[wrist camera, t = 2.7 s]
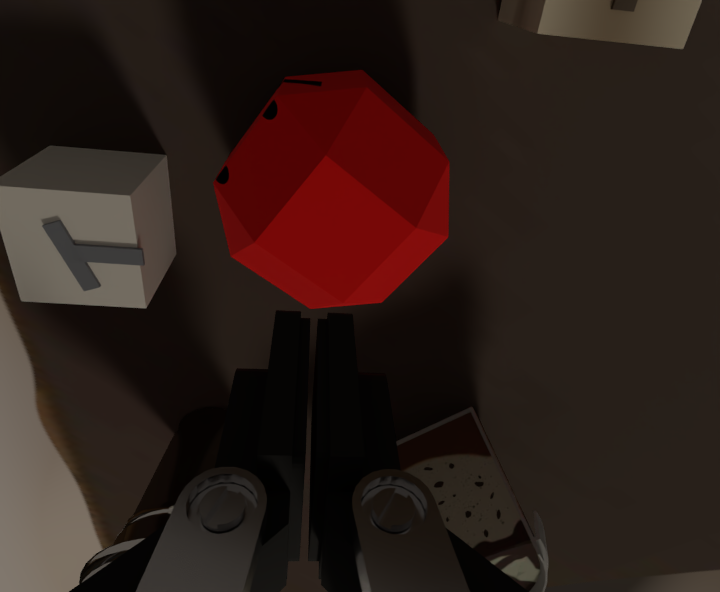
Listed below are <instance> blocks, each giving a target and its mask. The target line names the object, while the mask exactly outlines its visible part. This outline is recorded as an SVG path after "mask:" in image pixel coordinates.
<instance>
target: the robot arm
mask: <svg viewBox="0 0 720 592" xmlns="http://www.w3.org/2000/svg"><path fill="white" fill-rule="evenodd" d="M309 340H310V318H301V311H279V310H276V315H275V322H274V330H273V337H272V345H271V352H270V359H269V367H268V369H238V368H237V370H236V372H235V376H234V380H233V385H232V390H231V394H230V399H229V404H228V408H227V413H226V418H225V422H224V427H223V432H222V436H221V441H220V446H219V451H218V455H217V460H216V465H215V469H210V470H207V471H205V472H203V473H202V474H200V475H198V476H196V477H195V478H194V479H192V480H191V481H190V482H189V483H188V484H187V485H186V486H185V487H184V489H183V490H182V492H181V493H180V495H179V497H178V499H177V501H176V503H175V506H174V508H173V510H172V512H171V514H170V517H169V519H168V521H167V523H166V524H165V525H164V526H162V527H161V528H159V529H158V530H157V531H155V532H154V533H152V534H151V535H149V536H148V537H147V538H145V539H144V540H142V541H141V542H139V543H138V544H136V545H135V546H134V547H132V548H131V549H129V550H128V551H126V552H125V553H124V554H122V555H121V556H119V557H118V558H116V559H115V560H114V561H112V562H111V563H109V564H108V565H106V566H105V567H104V568H102V569H101V570H99V571H98V572H96V573H95V574H94V575H92V576H91V577H89V578H88V579H86V580H85V581H84V582H82V583H81V584H79V585H78V586H77V587H75V588H74V589H72V590H71V591H69V592H279V591H281V590H282V589H283V588H284V587H285V586H286V579H287V569H288V561H299V556H300V540H301V523H302V506H303V490H304V473H305V454H306V428H307V399H308V369H309ZM308 561H319V579H321V585H322V586H323V587H324V588H325V589H326V590H327V591H328V592H528V591H527V590H526V589H525V588H523V587H522V586H521V585H519V584H518V583H517V582H516V581H514V580H513V579H512V578H510V577H509V576H508V575H507V574H505V573H504V572H503V571H501V570H500V569H499V568H498V567H496V566H495V565H494V564H492V563H491V562H490V561H488V560H487V559H486V558H485V557H483V556H482V555H481V554H479V553H478V552H477V551H476V550H474V549H473V548H472V547H470V546H469V545H468V544H467V543H465V542H464V541H463V540H461V539H460V538H459V537H458V536H456V535H455V534H454V533H452V532H451V531H450V530H449V529H447V528H446V527H445V525H444V522H443V519H442V517H441V514H440V511H439V509H438V506H437V504H436V501H435V498H434V497H433V495H432V493H431V491H430V490H429V488H428V487H427V486H426V485H425V484H424V483H423V482H422V481H421V480H420V479H418V478H417V477H415V476H413V475H411V474H410V473H407V472H404V471H401V469H400V462H399V456H398V449H397V443H396V436H395V430H394V423H393V417H392V410H391V404H390V397H389V391H388V385H387V379H386V375H385V374H384V373H358V371H357V360H356V348H355V337H354V325H353V315H352V314H344V313H328V316H327V319H318V326H317V341H316V356H315V372H314V387H313V402H312V423H311V464H310V506H309V548H308Z"/></svg>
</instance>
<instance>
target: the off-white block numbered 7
mask: <svg viewBox="0 0 720 592" xmlns="http://www.w3.org/2000/svg"><path fill="white" fill-rule="evenodd" d="M0 231H1V234H2V238H3V241H4V244H5V248H6V251H7V255H8V258H9V262H10V265H11V268H12V272H13V275H14V279H15V282H16V286H17V289H18V292H19V296H20V299H21V301H25V302H43V303H60V304H78V305H95V306H113V307H130V308H147V306H148V304H149V303H150V301H151V299H152V297H153V295H154V293H155V292H156V290H157V288H158V286H159V284H160V283H161V281H162V279H163V277H164V275H165V274H166V272H167V270H168V268H169V266H170V265H171V263H172V261H173V259H174V257H175V255H176V245H175V235H174V225H173V215H172V205H171V195H170V185H169V175H168V165H167V155H160V154H148V153H136V152H124V151H111V150H99V149H87V148H75V147H62V146H48V147H47V148H45V149H44V150H42V151H40V152H39V153H37V154H36V155H34V156H33V157H31V158H29V159H28V160H26V161H25V162H23V163H21V164H20V165H18V166H17V167H15V168H13V169H12V170H10V171H9V172H7V173H5V174H4V175H2V176H1V177H0Z"/></svg>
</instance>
